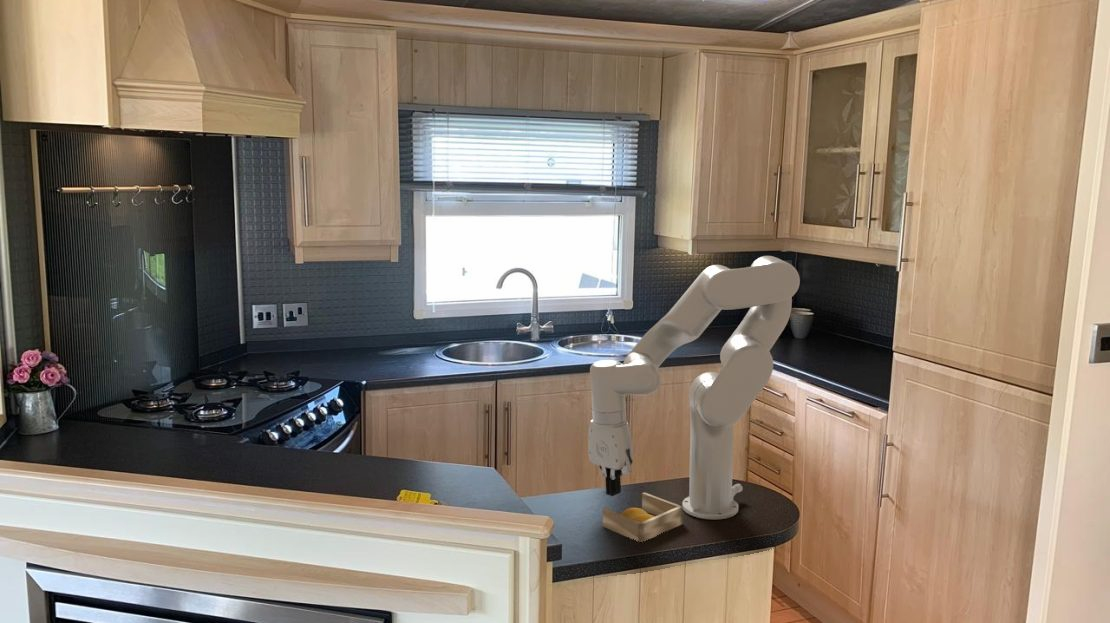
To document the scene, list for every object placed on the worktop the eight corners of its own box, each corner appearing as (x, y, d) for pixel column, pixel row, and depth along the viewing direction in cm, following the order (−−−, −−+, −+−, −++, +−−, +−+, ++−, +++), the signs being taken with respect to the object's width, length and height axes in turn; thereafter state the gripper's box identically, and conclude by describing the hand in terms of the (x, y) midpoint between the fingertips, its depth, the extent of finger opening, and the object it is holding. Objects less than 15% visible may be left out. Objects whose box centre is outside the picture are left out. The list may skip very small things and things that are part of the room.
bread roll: (635, 540, 182) (635, 523, 181) (611, 525, 189) (611, 508, 189) (666, 531, 186) (666, 514, 185) (641, 517, 194) (641, 500, 193)
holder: (644, 508, 197) (644, 492, 197) (682, 523, 189) (683, 506, 189) (602, 526, 188) (602, 509, 188) (641, 543, 180) (641, 525, 180)
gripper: (574, 414, 196) (578, 490, 199) (622, 426, 185) (626, 507, 188) (597, 406, 200) (601, 481, 204) (645, 417, 190) (649, 496, 193)
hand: (613, 493), depth 196 cm, fingers closed
